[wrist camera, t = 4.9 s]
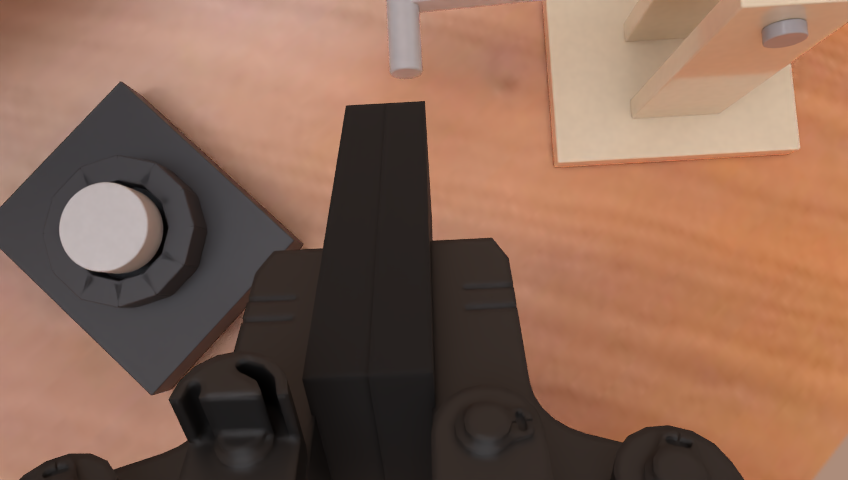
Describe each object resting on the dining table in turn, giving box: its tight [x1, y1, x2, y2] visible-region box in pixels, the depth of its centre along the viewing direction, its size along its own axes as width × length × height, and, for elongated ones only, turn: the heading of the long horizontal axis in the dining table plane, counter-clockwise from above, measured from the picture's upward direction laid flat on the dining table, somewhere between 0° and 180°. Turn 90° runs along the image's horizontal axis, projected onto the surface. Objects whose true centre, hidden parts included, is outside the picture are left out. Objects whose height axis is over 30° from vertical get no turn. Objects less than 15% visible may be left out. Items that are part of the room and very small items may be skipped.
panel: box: [0, 82, 303, 395], centre depth 33 cm, size 12×10×4 cm
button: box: [59, 182, 163, 274], centre depth 31 cm, size 4×4×2 cm
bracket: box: [542, 0, 848, 167], centre depth 28 cm, size 12×9×14 cm
